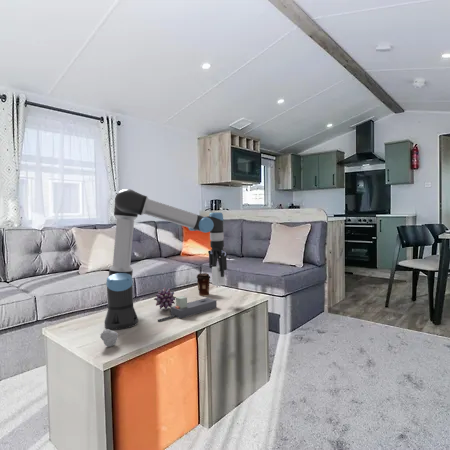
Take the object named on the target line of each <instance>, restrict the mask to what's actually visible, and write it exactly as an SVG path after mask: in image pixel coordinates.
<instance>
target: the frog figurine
mask: <svg viewBox="0 0 450 450" xmlns="http://www.w3.org/2000/svg"><path fill="white" fill-rule="evenodd" d="M118 335H119V334H118V332H117V331H114V330H112V329H108V328H106V329H103V330H102V332H101V333H99V336H100V339H101V340H102V341H103V344H104V345H105V346H106V347H108V348H110V347H113V346H115V344H116V343H117V341H118Z"/></svg>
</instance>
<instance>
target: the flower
mask: <svg viewBox="0 0 450 450" xmlns="http://www.w3.org/2000/svg"><path fill="white" fill-rule="evenodd" d="M174 294H175V292H174V291H171V288H168V289H166V287H163V289H158V291H157V293H156V294H154V296H156V297H154V298H153V300H154V301H156V303H155V306H159V310H162V309H163V308H164V310H165V311H166V310H168V308H170V309H171V307H173V304H174V305H176V296H175V295H174Z"/></svg>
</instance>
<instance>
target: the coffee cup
mask: <svg viewBox="0 0 450 450" xmlns="http://www.w3.org/2000/svg"><path fill="white" fill-rule="evenodd" d="M196 279H197V289H198V295H199V296H200V297H208V296H210V283H211V282H210V281H211V280H210V279H211V275H209V274H208V273H206V272H201V273H198V274H197V275H196Z"/></svg>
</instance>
